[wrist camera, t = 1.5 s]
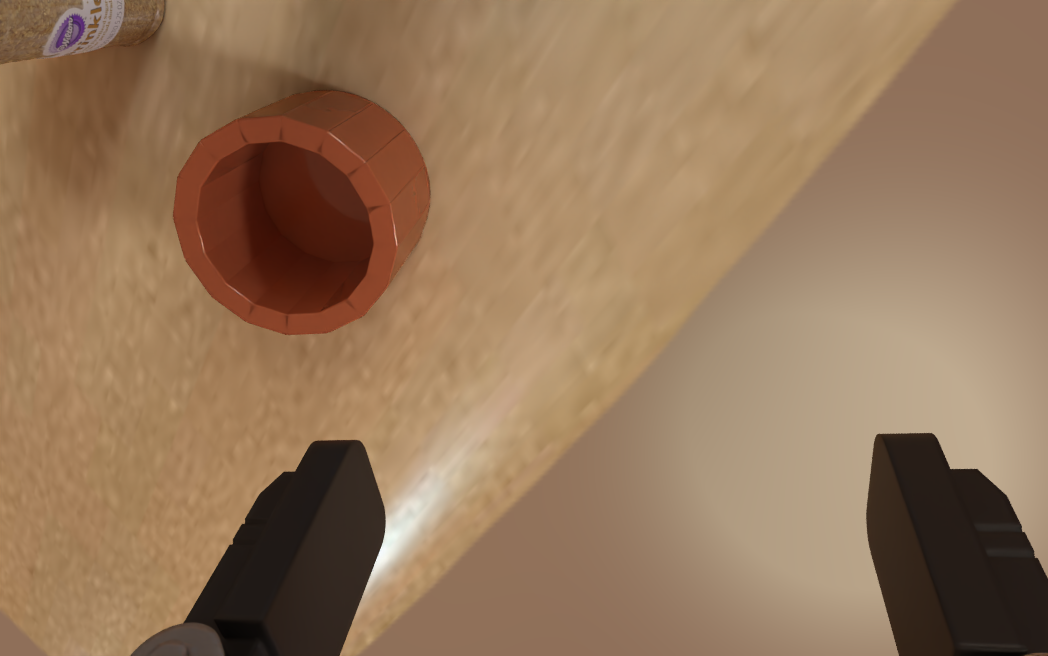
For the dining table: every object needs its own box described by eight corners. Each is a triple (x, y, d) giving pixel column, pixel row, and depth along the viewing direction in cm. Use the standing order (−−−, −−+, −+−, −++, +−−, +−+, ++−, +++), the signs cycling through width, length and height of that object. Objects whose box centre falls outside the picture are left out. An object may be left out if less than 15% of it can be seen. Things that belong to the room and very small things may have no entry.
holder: (207, 145, 38) (128, 182, 32) (365, 53, 36) (313, 73, 30) (312, 304, 41) (259, 366, 35) (464, 229, 39) (437, 281, 33)
